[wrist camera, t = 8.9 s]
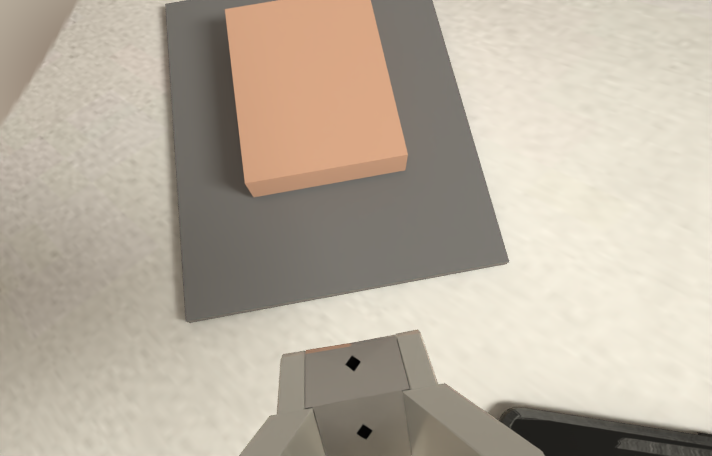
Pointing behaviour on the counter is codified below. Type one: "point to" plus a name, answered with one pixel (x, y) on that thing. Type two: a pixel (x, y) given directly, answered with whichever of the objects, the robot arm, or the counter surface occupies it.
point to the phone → (600, 436)
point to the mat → (325, 202)
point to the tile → (312, 94)
